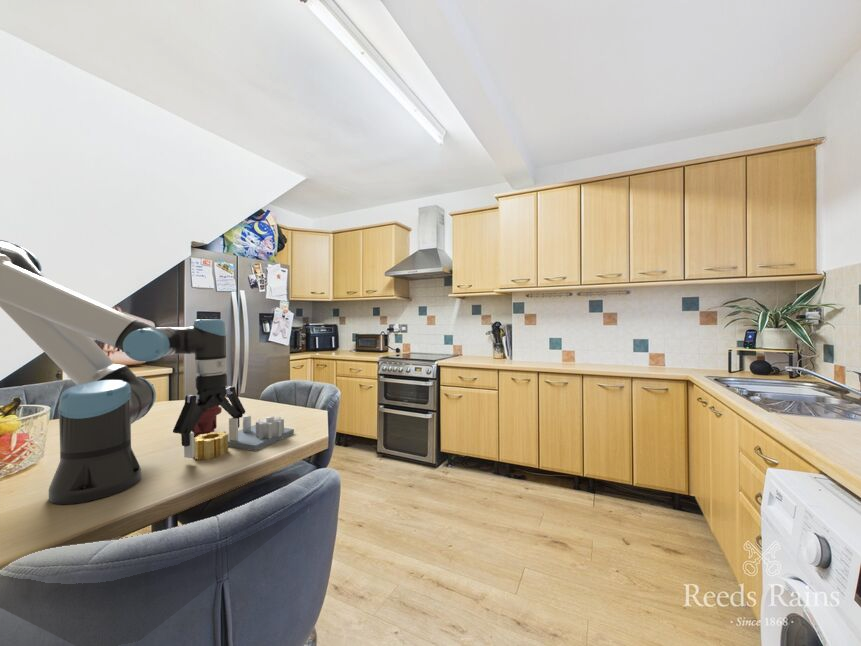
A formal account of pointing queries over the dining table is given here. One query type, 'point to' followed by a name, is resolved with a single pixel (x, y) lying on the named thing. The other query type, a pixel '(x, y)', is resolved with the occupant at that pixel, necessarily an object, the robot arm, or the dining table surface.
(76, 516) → the dining table surface
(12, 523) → the dining table surface
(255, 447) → the gear board
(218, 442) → the brass gear
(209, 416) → the mechanical component
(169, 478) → the dining table surface
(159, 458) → the dining table surface
